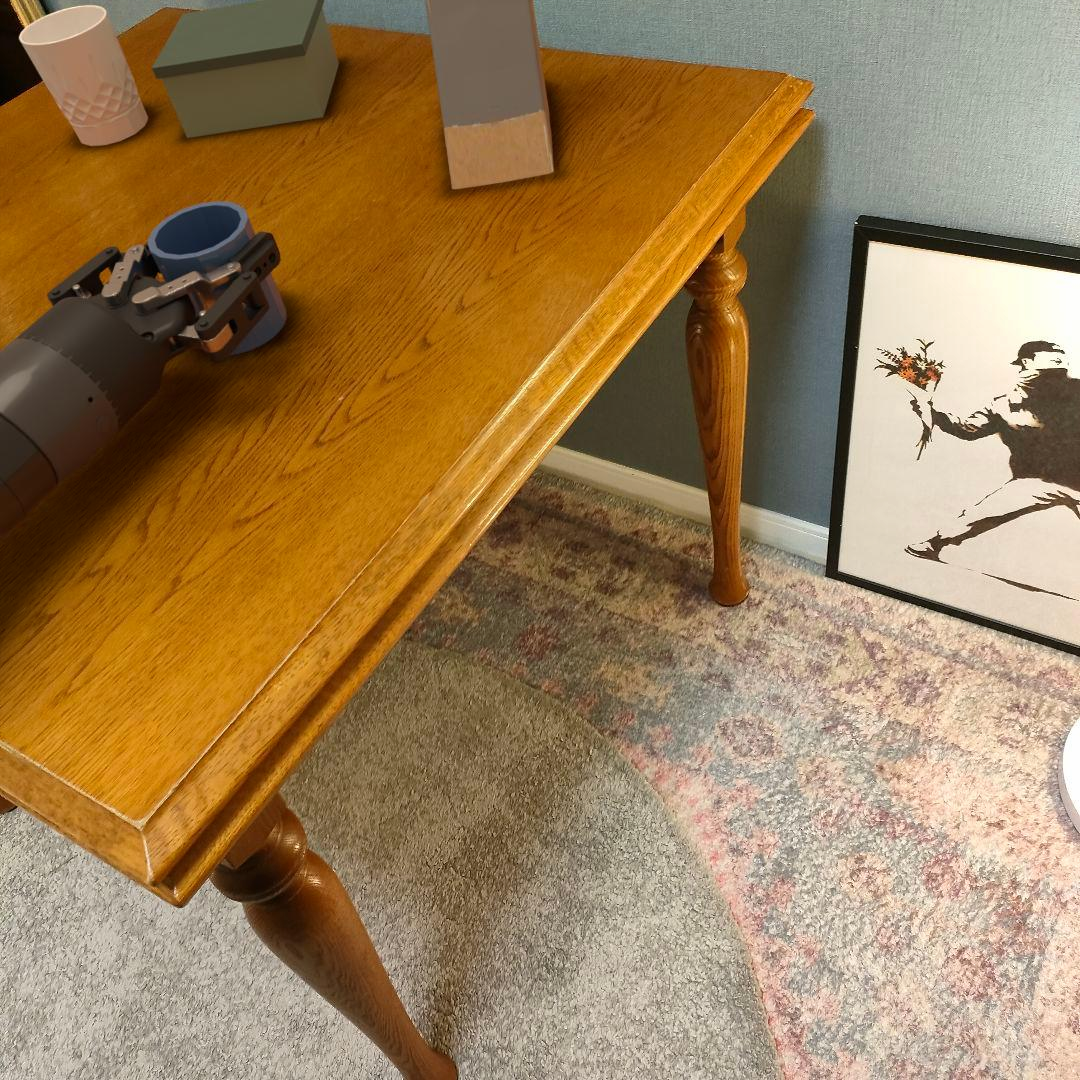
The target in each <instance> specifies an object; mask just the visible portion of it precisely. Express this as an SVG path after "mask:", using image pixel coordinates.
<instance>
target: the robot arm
mask: <svg viewBox="0 0 1080 1080" xmlns="http://www.w3.org/2000/svg"><path fill="white" fill-rule="evenodd" d="M281 261H282V259H281V251H280V249H279V247H278V244H277V242H276V239H275V237H274V234H273V233H271V232H269V231H258V232H257V233H255V236H254V237H253V238H252V239H251V240H250V241H249V242H248V243H247V244H246V245H245V246H244V247H243V248H242V249H241V250H240V251H239V252H237V253H236V254H235V255H234V256H233V257H232V258H231V259H230V260H229V262H230V263H227V264H225V265H223V266H221V267H219V268H217V269H214V270H212V271H210V272H208V273H206V274H202V273H200V272H199V271H193V272H190V273H188V274H186V275H184V276H182V277H180V278H178V279H176V280H173V281H171V282H165V281H161V280H160V276H159V274H160V275H162V274H161V272H160V270H159V268H158V266H157V264H156V262H155V260H154V258H153V256H152V254H151V252H150V249H149V246H148V241H147V242H146V243H145V244H135V245H132V246H129V248H127V249H126V251H124V252H121V251H120V249H119V247H118V246H114V245H112V246H108V247H106V248H104V249H103V250H101V251H100V252H99V253H97V254H96V255H94V256H93V257H92V258H91V259H89V261H87V262H86V263H84V264H83V265H81V266H80V267H79V268H78V269H77V270H75V271H73V273H71V274H70V275H69V276H67V277H66V278H65V279H63V280H61V282H60V283H58V284H57V285H55V287H53V288H52V289H50V291H48V292H47V294H46V297H47V299H48V301H49V302H50V304H51V305H52V307H50V308H49V309H48V310H46V311H45V313H43V314H42V315H41V316H40V317H38V319H36V320H35V321H34V322H33V323H32V324H31V325H29V326H28V327H27V328H26V329H24V330H23V331H22V332H21V333H20V334H18V336H16V337H15V338H14V339H13V340H11V341H10V342H9V343H8V344H7V345H6V346H5V347H3V348H2V349H1V350H0V541H1V540H3V539H4V538H5V537H6V536H8V535H9V534H10V533H12V531H14V530H15V529H17V527H18V526H19V525H20V524H22V522H23V521H24V520H25V519H26V518H27V517H28V516H30V514H31V513H32V512H33V511H35V509H36V508H37V507H38V506H40V504H42V502H43V501H44V500H45V499H46V498H47V497H48V496H50V494H51V493H52V492H53V491H54V490H55V489H56V488H58V487H59V486H60V485H61V484H62V483H63V482H64V481H66V480H67V479H68V478H70V477H71V476H73V475H74V474H75V473H77V472H78V471H79V470H80V469H82V468H83V467H84V466H86V465H87V464H88V463H89V462H90V461H91V460H93V458H94V457H96V456H97V454H98V453H99V452H100V451H101V450H102V449H103V448H104V447H105V446H106V445H107V444H108V443H109V442H110V441H111V440H112V439H113V438H114V437H115V436H116V435H117V434H118V433H119V432H120V431H121V430H122V429H123V428H124V427H125V426H126V425H127V424H128V423H129V422H130V421H131V420H132V419H133V418H134V417H135V416H136V415H137V414H138V413H139V412H140V411H141V410H142V409H143V408H144V407H146V405H148V403H149V402H150V401H151V400H152V399H153V398H154V397H155V396H156V395H157V394H158V393H159V391H160V390H161V387H162V381H163V375H164V371H165V368H166V364H167V363H168V362H170V361H172V360H173V359H174V358H176V357H178V356H180V355H182V354H184V353H186V352H187V351H188V350H189V349H195V350H202V351H204V350H205V351H206V352H205V351H204V352H205V353H206V354H207V356H208V358H209V359H208V360H209V361H210V362H211V363H215V364H217V363H221V362H224V361H225V360H226V359H228V358H229V356H231V355H230V354H231V353H232V352H233V351H234V350H235V348H236V347H237V346H238V345H239V344H240V343H241V341H242V340H243V339H244V338H245V337H246V336H247V334H248V333H249V332H250V331H251V330H252V329H253V328H254V326H255V325H256V324H257V323H258V322H259V321H260V319H261V318H262V317H263V316H264V315H265V314H266V313H267V311H268V310H269V309H270V305H269V303H268V300H267V298H266V296H265V293H264V291H263V289H262V286H261V284H260V283H261V282H262V281H263V280H264V279H265V278H266V277H267V276H268V275H269V274H270V272H271V273H272V272H273V271H274V270H275V269H276V268H277V267H278V266H279V265H280V262H281ZM107 269H108V271H109V272H110V278H109V280H108V281H107V282H106V283H103V281H102V280H101V277H100V276H101V273H102V272H104V271H105V270H107ZM226 282H227V283H228V285H229V288H228V289H227V290H226V291H225V292H224V293H223V294H222V295H221V296H220V298H219V299H217V300H216V299H215V296H214V294H213V290H214V288H216V287H218V286H220V285H222V284H224V283H226ZM192 291H196V292H197V294H198V296H199V298H200V300H201V302H202V304H203V306H204V310H203V311H201V312H200V313H199V316H197V317H195V316H196V311H195V307H194V305H193V303H192V301H191V299H190V297H189V295H188V293H189V292H192ZM245 304H246V305H247V307H246V308H245V309H244V308H243V305H245Z"/></svg>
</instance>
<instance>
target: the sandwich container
mask: <svg viewBox="0 0 1080 1080" xmlns="http://www.w3.org/2000/svg"><path fill="white" fill-rule="evenodd" d="M424 1H425V2H424V3H425V10H426V15H427V23H428V30H429V38H430V43H431V50H432V57H433V58H432V59H433V65H434V72H435V78H436V84H437V92H438V99H439V106H440V111H441V113H440V114H441V119H442V120H441V121H442V126H443V127H442V128H443V134H444V141H445V147H446V154H447V155H446V156H447V162H448V169H449V177H450V183H451V189H452V190H460V189H467V188H473V187H481V186H487V185H494V184H500V183H501V184H502V183H507V182H511V181H518V180H523V179H529V178H533V177H540V176H544V175H549V174H552V173H554V172H555V169H554V167H555V166H554V153H553V152H554V151H553V138H552V137H553V136H552V128H551V121H550V120H551V119H550V107H549V101H548V95H547V89H546V82H545V74H544V68H543V67H544V66H543V62H542V55H541V49H540V41H539V34H538V28H537V27H538V26H537V20H536V14H535V13H536V12H535V7H534V1H533V0H424Z"/></svg>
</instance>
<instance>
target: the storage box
mask: <svg viewBox="0 0 1080 1080" xmlns="http://www.w3.org/2000/svg"><path fill="white" fill-rule="evenodd" d="M324 3H325V0H256V1H251V2H244V3H237V4H233V5H226V6H220V7H214V8H208V9H203V10H197V11H191V12H184V13H182V15H180V18H179V19H178V21H177V23H176V25H175V26H174V28H173V29H172V32H171V33H170V35H169V37H168V38H167V41H166V43H165V44H164V45H163V47H162V49H161V51H160V53H159V54H158V57H157V58H156V60H155V62H154V64H153V65H152V66H151V69H152V73H153V75H154V77H155V79H156V80H158V79H160V80H161V82H162V84H163V85H164V88H165V91H166V93H167V95H168V97H169V99H170V102H171V104H172V106H173V109H174V110H175V113H176V116H177V118H178V120H179V123H180V125H181V126H182V129H183V131H184V134H185V136H186V138H187V139H190V138H197V137H203V136H209V135H217V134H223V133H230V132H236V131H241V130H249V129H255V128H261V127H269V126H275V125H281V124H289V123H294V122H295V123H296V122H301V121H307V120H315V119H320V118H324V116H325V114H326V113H325V112H326V109H327V105H328V103H329V99H330V96H331V93H332V89H333V86H334V82H335V78H336V75H337V72H338V69H339V66H340V62H339V59H338V56H337V53H336V49H335V46H334V42H333V39H332V36H331V32H330V30H329V26H328V22H327V19H326V15H325V13H324V9H323V6H324Z"/></svg>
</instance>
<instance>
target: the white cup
mask: <svg viewBox="0 0 1080 1080" xmlns="http://www.w3.org/2000/svg"><path fill="white" fill-rule="evenodd" d="M19 33H20V34H19V35H18V40H19V42H20V43H21V45H22V47H23V49H24V50H25V52H26V53H27V55H28V57H29V59H30V61H31V62H32V64H33V66H34V67H35V70H36V71H37V73H38V74H39V76H40V78H41V80H42V82H43V83H44V85H45V87H46V88H47V90H48V92H49V93H50V95H51V96H52V97H53V100H54V102H55V104H56V105H57V106H58V108H59V110H60V111H61V113H62V115H63V116H64V118H66V120H68V123H69V124H70V125H71V127H72V129H73V131H74V133H75V134H76V136H77V138H78V140H79V142H80V143H81V144H83V145H86V146H90V147H98V146H107V145H112V144H115V143H118V142H122V141H123V140H126V139H129V138H130V137H132V136H134V135H136V134H137V133H138V132H140V131H141V130H142V129H143V128H145V126H146V125H147V122H148V120H149V116H148V114H147V111H146V109H145V106H144V104H143V102H142V100H141V97H140V95H139V90H138V86H137V85H136V81H135V78H134V76H133V73H132V70H131V67H130V66H129V63H128V60H127V58H126V55H125V53H124V51H123V49H122V46H121V44H120V41H119V39H118V36H117V34H116V32H115V29H114V27H113V24H112V22H111V19H110V17H109V14H108V12H107V10H106V8H104V7H102V6H100V5H93V4H88V5H87V4H85V5H84V4H83V5H77V6H73V7H72V6H71V7H66V8H63V9H60V10H57V11H54V12H51V13H49V14H47V15H44V16H42V17H40V18H38V19H36V20H34V21H32V22H31V23H30V24H28V25H26V27H24V28H23V30H21V32H19Z"/></svg>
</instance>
